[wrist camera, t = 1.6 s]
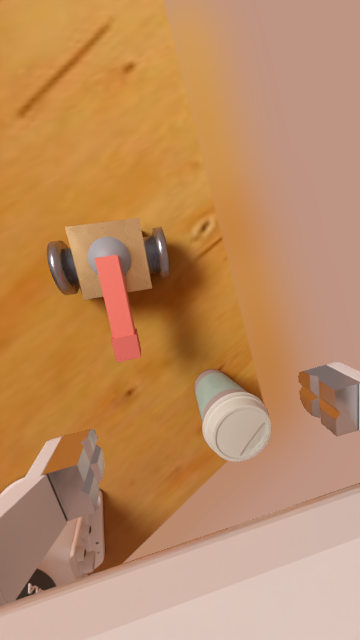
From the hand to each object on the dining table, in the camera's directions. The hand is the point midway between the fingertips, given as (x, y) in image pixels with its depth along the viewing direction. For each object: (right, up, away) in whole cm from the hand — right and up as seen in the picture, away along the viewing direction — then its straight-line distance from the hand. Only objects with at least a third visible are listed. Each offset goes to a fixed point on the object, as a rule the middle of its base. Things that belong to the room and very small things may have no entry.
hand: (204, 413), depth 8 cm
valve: (-10, +12, +22) cm, 27 cm away
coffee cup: (+4, -7, +29) cm, 30 cm away
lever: (-8, +6, +17) cm, 20 cm away
